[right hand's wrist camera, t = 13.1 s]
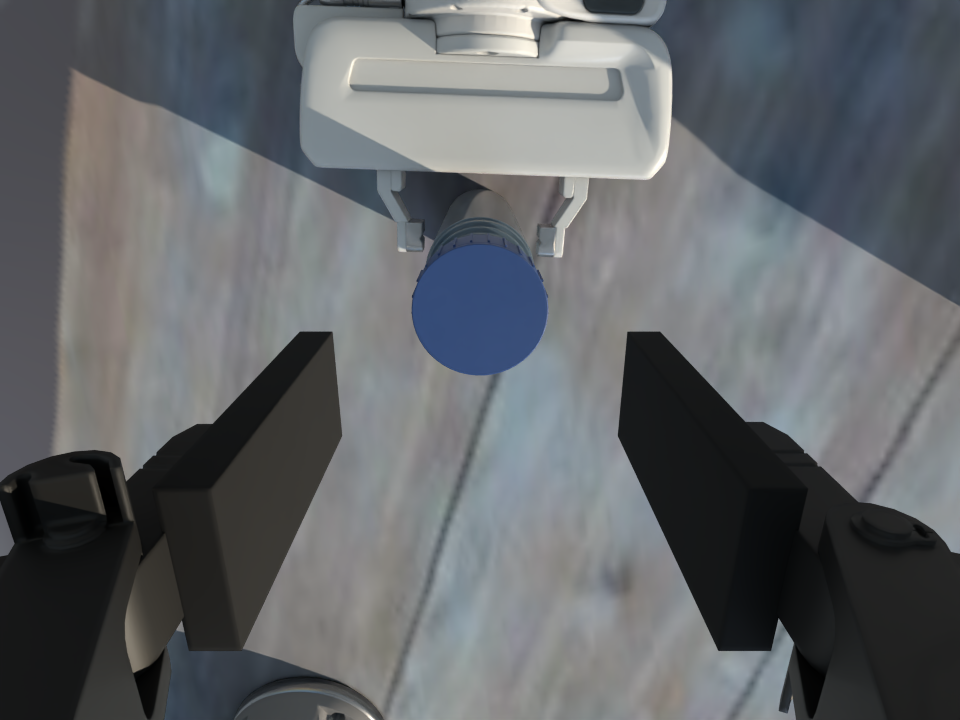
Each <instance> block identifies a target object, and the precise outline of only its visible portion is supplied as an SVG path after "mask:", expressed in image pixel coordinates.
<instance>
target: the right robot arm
mask: <svg viewBox="0 0 960 720" xmlns="http://www.w3.org/2000/svg"><path fill="white" fill-rule="evenodd" d="M341 437H342V429H341V418H340V407H339V397H338V386H337V375H336V364H335V354H334V343H333V332H299V333H298V334H297V335H296V336H295V337H294V339H293V340H292V341H291V342H290V343H289V344H288V345H287V346H286V347H285V348H284V349H283V350H282V351H281V352H280V353H279V354H278V355H277V357H276V358H275V359H274V360H273V361H272V362H271V363H270V364H269V365H268V366H267V367H266V368H265V369H264V370H263V371H262V372H261V373H260V375H259V376H258V377H257V378H256V379H255V380H254V381H253V382H252V383H251V384H250V385H249V386H248V387H247V388H246V389H245V390H244V391H243V393H242V394H241V395H240V396H239V397H238V398H237V399H236V400H235V401H234V402H233V403H232V404H231V405H230V406H229V407H228V408H227V409H226V410H225V412H224V413H223V414H222V415H221V416H220V417H219V418H218V419H217V420H216V421H215V422H214V423H213V424H196V425H194V426H193V427H191V428H189V429H187V430H185V431H183V432H181V433H179V434H178V435H176V436H174V437H172V438H171V439H170V440H169V441H168V442H167V443H166V444H165V445H164V446H163V447H162V448H161V449H160V450H159V451H158V452H157V454H156V456H152V457H151V458H150V459H149V460H148V461H147V462H146V463H145V464H144V465H143V469H139V470H138V471H137V472H136V473H135V474H134V475H133V476H132V477H131V478H130V479H129V480H127V481H126V480H125V476H124V472H123V468H122V464H121V460H120V458H119V457H118V456H116V455H114V454H113V453H111V452H105V451H98V450H90V451H75V452H70V453H65V454H61V455H56V456H52V457H49V458H46V459H43V460H40V461H37V462H35V463H32V464H29V465H27V466H25V467H23V468H21V469H19V470H17V471H15V472H14V473H12V474H10V475H8V476H7V477H6V478H5V479H4V480H2V481H1V482H0V501H1V505H2V508H3V511H4V514H5V516H6V519H7V522H8V525H9V528H10V531H11V534H12V537H13V540H14V543H15V544H14V546H13V547H12V549H11V551H10V553H9V554H8V555H6V556H1V557H0V720H164V717H165V710H166V703H167V697H168V690H169V684H170V677H171V665H170V658H169V654H168V650H167V646H166V645H167V643H168V642H169V640H170V638H171V637H172V635H173V634H174V632H175V630H176V629H177V627H178V626H179V624H180V622H181V621H182V622H183V627H184V631H185V636H186V640H187V644H188V649H189V651H242V649H243V647H244V644H245V642H246V640H247V638H248V636H249V634H250V632H251V629H252V627H253V625H254V623H255V621H256V619H257V617H258V615H259V612H260V610H261V608H262V606H263V604H264V602H265V600H266V597H267V595H268V593H269V591H270V589H271V587H272V585H273V582H274V580H275V578H276V576H277V574H278V572H279V570H280V568H281V565H282V563H283V561H284V559H285V557H286V555H287V553H288V550H289V548H290V546H291V544H292V542H293V540H294V538H295V535H296V533H297V531H298V529H299V527H300V525H301V523H302V520H303V518H304V516H305V514H306V512H307V510H308V508H309V506H310V503H311V501H312V499H313V497H314V495H315V493H316V491H317V488H318V486H319V484H320V482H321V480H322V478H323V476H324V473H325V471H326V469H327V467H328V465H329V463H330V461H331V459H332V456H333V454H334V452H335V450H336V448H337V446H338V444H339V441H340V439H341ZM618 437H619V439H620V441H621V444H622V446H623V448H624V450H625V452H626V454H627V456H628V459H629V461H630V463H631V465H632V467H633V469H634V471H635V473H636V476H637V478H638V480H639V482H640V484H641V486H642V488H643V491H644V493H645V495H646V497H647V499H648V501H649V503H650V506H651V508H652V510H653V512H654V514H655V516H656V518H657V520H658V523H659V525H660V527H661V529H662V531H663V533H664V535H665V538H666V540H667V542H668V544H669V546H670V548H671V550H672V553H673V555H674V557H675V559H676V561H677V563H678V565H679V568H680V570H681V572H682V574H683V576H684V578H685V580H686V582H687V585H688V587H689V589H690V591H691V593H692V595H693V597H694V600H695V602H696V604H697V606H698V608H699V610H700V612H701V615H702V617H703V619H704V621H705V623H706V625H707V627H708V629H709V632H710V634H711V636H712V638H713V640H714V642H715V644H716V647H717V649H718V651H771V649H772V644H773V640H774V636H775V631H776V627H777V622H778V618H779V619H780V621H781V622H782V624H783V626H784V627H785V629H786V630H787V632H788V634H789V635H790V637H791V638H792V640H793V642H794V646H793V650H792V654H791V658H790V662H789V666H788V670H787V674H786V678H785V682H784V686H783V690H782V694H781V698H780V705H779V711H781V712H784V713H788V709H789V706H790V702H791V700H792V699H793V702H794V708H795V715H796V720H960V554H958V553H953V552H951V551H950V550H949V548H948V546H947V545H946V543H945V542H944V541H943V540H942V539H941V537H940V536H939V535H938V534H937V533H936V532H935V531H934V530H933V529H931V528H930V527H928V526H927V525H925V524H923V523H922V522H920V521H919V520H917V519H916V518H913V517H911V516H909V515H906V514H904V513H902V512H899V511H897V510H895V509H891V508H887V507H883V506H879V505H876V504H872V503H860V502H858V501H856V500H855V499H854V498H853V497H852V496H851V495H850V494H849V493H848V492H847V491H846V490H845V489H844V488H843V487H842V486H841V485H840V484H839V483H838V482H837V481H835V480H834V479H833V478H832V477H831V476H830V475H829V474H828V473H827V472H826V471H825V470H824V469H823V468H822V467H818V466H817V462H816V461H815V460H813V459H812V458H811V457H810V456H809V455H808V454H807V453H804V450H803V449H802V448H801V447H800V446H799V445H798V444H797V443H796V442H795V441H794V440H793V439H791V438H790V437H789V436H788V435H787V434H785V433H783V432H781V431H779V430H777V429H775V428H774V427H772V426H770V425H768V424H766V423H764V422H745V421H744V420H743V419H742V418H741V417H740V416H739V415H738V414H737V413H736V412H735V411H734V409H733V408H732V407H731V406H730V405H729V404H728V403H727V402H726V401H725V400H724V399H723V398H722V397H721V396H720V395H719V394H718V393H717V391H716V390H715V389H714V388H713V387H712V386H711V385H710V384H709V383H708V382H707V381H706V380H705V379H704V378H703V377H702V376H701V375H700V373H699V372H698V371H697V370H696V369H695V368H694V367H693V366H692V365H691V364H690V363H689V362H688V361H687V360H686V359H685V358H684V357H683V355H682V354H681V353H680V352H679V351H678V350H677V349H676V348H675V347H674V346H673V345H672V344H671V343H670V342H669V341H668V340H667V339H666V337H665V336H664V335H663V334H662V333H661V332H627V343H626V354H625V364H624V375H623V386H622V397H621V407H620V418H619V429H618ZM234 720H384V719H383V717H382V716H381V714H380V712H379V711H378V710H377V708H376V707H375V706H374V705H373V704H372V703H371V702H370V701H369V700H368V699H366V698H365V697H364V696H362V695H361V694H359V693H358V692H356V691H355V690H353V689H351V688H349V687H346V686H344V685H342V684H339V683H336V682H332V681H328V680H324V679H318V678H304V677H303V678H289V679H283V680H279V681H275V682H272V683H269V684H267V685H264V686H262V687H260V688H259V689H257V690H255V691H254V692H253V693H251V694H250V695H249V696H248V697H247V698H246V699H245V700H244V701H243V702H242V704H241V705H240V707H239V708H238V711H237V713H236V715H235V717H234Z"/></svg>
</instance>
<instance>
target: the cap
mask: <svg viewBox="0 0 960 720" xmlns="http://www.w3.org/2000/svg"><path fill="white" fill-rule="evenodd" d="M417 282H418V283H417V286H416V288H415V290H414V293H413V295H412V298H413V300H412V319H413V324H414V328H415V331H416V334H417V336H418V338H419V340H420V342H421V343H422V345H423V346H424V348H425V349H426V350H427V351H428V353H429V354H430V355H431V356H432V357H433V358H434V359H436V360H437V361H438V362H440V363H441V364H442V365H444V366H446V367H448V368H450V369H452V370H454V371H457V372H460V373H464V374H469V375H491V374H496V373H500V372H503V371H506V370H508V369H510V368H512V367H514V366H516V365H517V364H519V363H520V362H522V361H523V360H524V359H525V358H527V357H528V356H529V355H530V354H531V353H532V351H533V350H534V349H535V348H536V346H537V345H538V343H539V342H540V340H541V338H542V336H543V334H544V331H545V328H546V324H547V318H548V300H547V298H548V295H547V293H546V290H545V288H544V286H543V283H542V282H543V279H542V276H541V274H540V272H539V270H536V268H535V265H534V263H533V261H532V259H531V257H530V256H529V257H528V256H527V255H526V254H525V253H524V252H523V251H522V250H521V249H520V246H519V245H518V246H516V245H514V244H512V243H511V242H509V241H507V240H506V238H504V237H503V239H502V238H499V237H496V236H491V235H490V234H489V233H487V235H473V233H471V234H470V235H469V236H464V237H461V238H458V239H457V237H456V238H454V240H453V241H451V242H449V243H447V244H446V245H444V246H442V245H441V246H440V249H439V250H438V251H437V252H436V253H435V254H434V255H433V256H432V257H431V256H430V257H429V259H428V261H427V263H426V265H425V268H424V270H421V272H420V274H419V276H418V279H417Z"/></svg>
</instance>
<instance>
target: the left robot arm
mask: <svg viewBox="0 0 960 720" xmlns="http://www.w3.org/2000/svg"><path fill="white" fill-rule="evenodd" d="M313 1H315V0H300V1H299V3H298V4H297V6H296V8H295V11H294V15H293V34H294V49H295V54H296V57H297V60H298V62H299V64H300V66H301V67H302V69H303V70H302V80H301V93H300V145H301V149H302V151H303V152H304V154H305V155H306V156H307V157H308V159H309V160H310V161H311V162H312V163H313V165H314V166H316V167H321V168H346V169H372V170H377V192H378V193H379V195H380V197H381V198H382V200H383V202H384V204H385V205H386V207H387V209H388V210H389V212H390V214H391V216H392V217H393V219H394V221H395V222H397V244H398V251H400V252H423V250H424V246H425V237H424V236H423V232H424V231H425V219H411V216H410V214H409V212H408V210H407V209H406V207H405V205H404V203H403V201H402V199H401V197H400V196H399V194H398V192H397V191H401V190H403V189H404V188H405V187H406V171H426V172H452V173H479V174H506V175H532V176H559V177H560V179H559V194H560V195H562V196H563V197H565V198H566V200H565V201H564V203H563V204H562V206H561V207H560V209H559V211H558V212H557V214H556V215H555V217H554V218H553V220H552V221H551V224H537V236H538V238H539V239H538V240H537V241H536V254H537V256H541V257H562V254H563V245H564V233H565V228H567V227H568V226H569V224H570V223H571V221H572V220H573V219H574V217H575V216H576V214H577V213H578V211H579V210H580V208H581V207H582V205H583V204H584V202H585V201H586V200H587V193H588V183H589V178H613V179H640V180H648V179H650V178H652V177H653V176H654V175H655V174H656V173H657V172H658V170H659V169H660V168H661V167H662V166H663V165H664V163H665V161H666V158H667V153H668V146H669V138H670V127H671V112H672V66H671V59H670V55H669V51H668V49H667V46H666V44H665V42H664V41H663V39H662V38H661V37H660V36H659V35H658V34H657V33H656V32H654V31H653V30H651V29H649V28H651V27H652V26H653V25H654V24H655V23H656V22H657V21H658V20H659V19H660V17H661V16H662V14H663V12H664V10H665V6H666V2H667V0H319V1H320V4H322V5H309V4H310V3H311V2H313ZM323 5H324V6H323ZM354 5H355V6H360V7H347V6H354ZM403 8H405V18H406V19H404V10H403Z"/></svg>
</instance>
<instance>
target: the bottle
mask: <svg viewBox="0 0 960 720" xmlns="http://www.w3.org/2000/svg"><path fill="white" fill-rule="evenodd" d="M471 233H473V235H487V233H489V234H490V235H491V236H496V237H499V238H502V239H503V237H504V238H506V240H507V241H509V242H511V243H512V244H514V245H516V246H518V245H519V246H520V249H521V250H522V251H523V252H524V253H525V254H526V255H527V256H528V257H529V256H530V257H531V259H532V261H533V257H532V254H531V251H530V248H529V246H528V244H527V242H526V240H525V238H524V235H523V233H522V231H521V229H520V227H519V225H518V222H517V220H516V218H515V216H514V214H513V212H512V209H511V208H510V206H509V204H508V203H507V201H506V200H505V199H504V198H503V197H501V196H500V195H499V194H497V193H495V192H493V191H490V190H487V189H473V190H470V191H467V192H465V193H463V194H461V195H460V196H459V197H457V198H456V199H455V200H454V201H453V203H452V204H451V206H450V208H449V209H448V212H447V214H446V216H445V218H444V220H443V222H442V225H441V227H440V229H439V231H438V233H437V235H436V238H435V240H434V242H433V244H432V246H431V248H430V251H429V254H428V257H427V261H428V259H429V257H430V256H431V257H432V256H433V255H434V254H435V253H436V252H437V251H438V250H439V249H440V246H441V245H442V246H444V245H446V244H447V243H449V242H451V241H453V240H454V238H456V237H457V239H458V238H461V237H464V236H469V235H470V234H471ZM427 261H426V263H427ZM533 263H534V261H533Z"/></svg>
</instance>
